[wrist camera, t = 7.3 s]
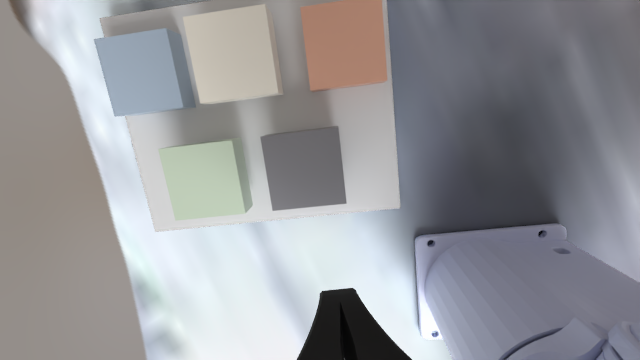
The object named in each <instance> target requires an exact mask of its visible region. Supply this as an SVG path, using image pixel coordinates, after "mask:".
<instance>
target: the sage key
mask: <svg viewBox="0 0 640 360" xmlns="http://www.w3.org/2000/svg"><path fill="white" fill-rule="evenodd" d="M158 151H159V155H160V159H161V163H162V167H163V171H164V175H165V180H166V184H167V188H168V192H169V196H170V200H171V204H172V208H173V212H174V217H175V221H177V220H187V219H197V218H207V217H217V216H227V215H237V214H246V213H247V211H248V210H249V209H250V208H251V207H252V206H253V202H252V196H251V191H250V185H249V180H248V174H247V169H246V163H245V157H244V152H243V146H242V141H241V138H233V139H225V140H216V141H208V142H200V143H192V144H184V145H175V146H170V147H165V148H161V149H158Z"/></svg>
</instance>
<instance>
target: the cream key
mask: <svg viewBox="0 0 640 360" xmlns="http://www.w3.org/2000/svg"><path fill="white" fill-rule="evenodd" d="M183 21H184V26H185V31H186V36H187V41H188V46H189V51H190V56H191V61H192V65H193V70H194V75H195V80H196V85H197V90H198V95H199V100H200V103H201V104H216V103H223V102H231V101H238V100H246V99H254V98H261V97H269V96H276V95H284V94H283V87H282V80H281V73H280V66H279V59H278V52H277V45H276V38H275V31H274V25H273V18H272V13H271V12H270V10H269V9H268V7H267V6H266V4H261V5H255V6H248V7H242V8H236V9H229V10H223V11H217V12H210V13H204V14H198V15H192V16H185V17H183Z"/></svg>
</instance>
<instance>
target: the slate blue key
mask: <svg viewBox="0 0 640 360" xmlns="http://www.w3.org/2000/svg"><path fill="white" fill-rule="evenodd" d="M94 41H95V45H96V49H97V52H98V56H99V60H100V64H101V67H102V71H103V75H104V79H105V82H106V86H107V90H108V93H109V97H110V101H111V105H112V108H113V112H114V116H135V115H143V114H150V113H158V112H165V111H173V110H180V109H188V108H196V105H195V100H194V96H193V91H192V86H191V81H190V76H189V72H188V67H187V62H186V57H185V53H184V48H183V43H182V38H181V35H180V34H178V33H176V32H174V31H171V30H169V29H167V28H163V29H156V30H150V31H144V32H137V33H131V34H124V35H118V36H112V37H105V38H99V39H94Z"/></svg>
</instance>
